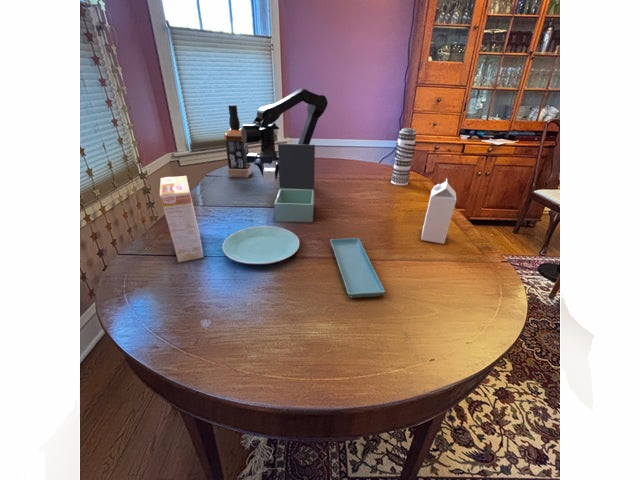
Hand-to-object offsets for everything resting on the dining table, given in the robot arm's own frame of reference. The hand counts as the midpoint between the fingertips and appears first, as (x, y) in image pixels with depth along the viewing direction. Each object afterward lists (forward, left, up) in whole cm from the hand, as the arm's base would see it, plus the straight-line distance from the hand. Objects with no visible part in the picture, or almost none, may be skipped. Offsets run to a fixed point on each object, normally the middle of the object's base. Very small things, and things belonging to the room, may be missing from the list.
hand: (270, 178), depth 132 cm
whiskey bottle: (0, -28, -5) cm, 28 cm away
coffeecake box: (+48, +29, -5) cm, 56 cm away
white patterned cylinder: (-56, +30, -5) cm, 64 cm away
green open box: (+7, +28, -5) cm, 29 cm away
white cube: (0, 0, -1) cm, 1 cm away
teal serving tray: (+18, +68, -5) cm, 71 cm away
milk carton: (-16, +72, -5) cm, 74 cm away
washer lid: (+2, +22, +10) cm, 24 cm away
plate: (+32, +44, -5) cm, 55 cm away
